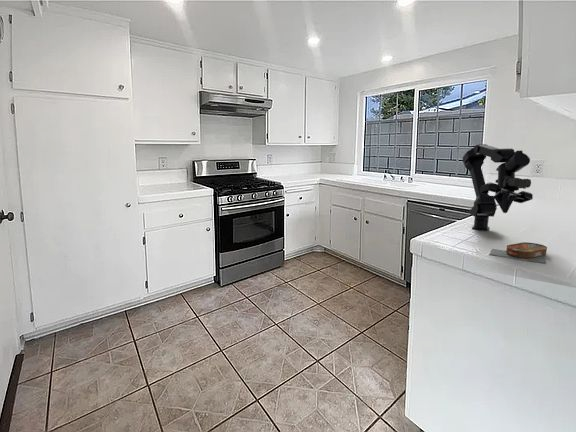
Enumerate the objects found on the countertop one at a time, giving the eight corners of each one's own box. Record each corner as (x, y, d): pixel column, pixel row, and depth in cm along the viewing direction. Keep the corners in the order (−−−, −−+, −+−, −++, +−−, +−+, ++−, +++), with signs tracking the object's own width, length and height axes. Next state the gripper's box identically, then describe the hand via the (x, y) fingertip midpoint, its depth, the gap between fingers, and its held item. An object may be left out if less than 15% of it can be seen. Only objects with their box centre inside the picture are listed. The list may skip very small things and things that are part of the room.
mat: (491, 249, 123) (492, 248, 123) (545, 257, 114) (545, 256, 114) (489, 254, 117) (489, 254, 117) (545, 263, 108) (545, 262, 108)
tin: (528, 241, 123) (553, 245, 115) (527, 249, 123) (552, 254, 115) (500, 246, 117) (525, 251, 110) (500, 254, 118) (524, 260, 110)
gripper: (500, 163, 123) (498, 201, 119) (544, 175, 125) (545, 213, 120) (479, 174, 134) (477, 209, 130) (521, 185, 135) (520, 220, 131)
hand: (505, 212), depth 128 cm, fingers closed
